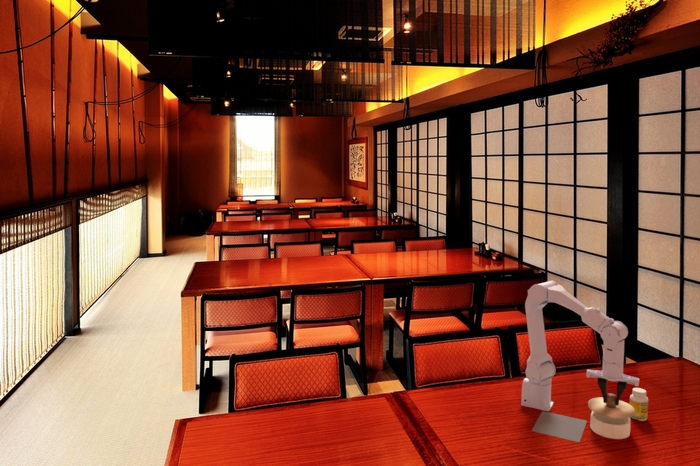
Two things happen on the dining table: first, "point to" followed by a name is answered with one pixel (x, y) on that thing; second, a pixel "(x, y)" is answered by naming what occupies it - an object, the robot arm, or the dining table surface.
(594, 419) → the bowl
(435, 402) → the dining table surface
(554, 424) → the mat
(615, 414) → the lid
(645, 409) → the supplement bottle
